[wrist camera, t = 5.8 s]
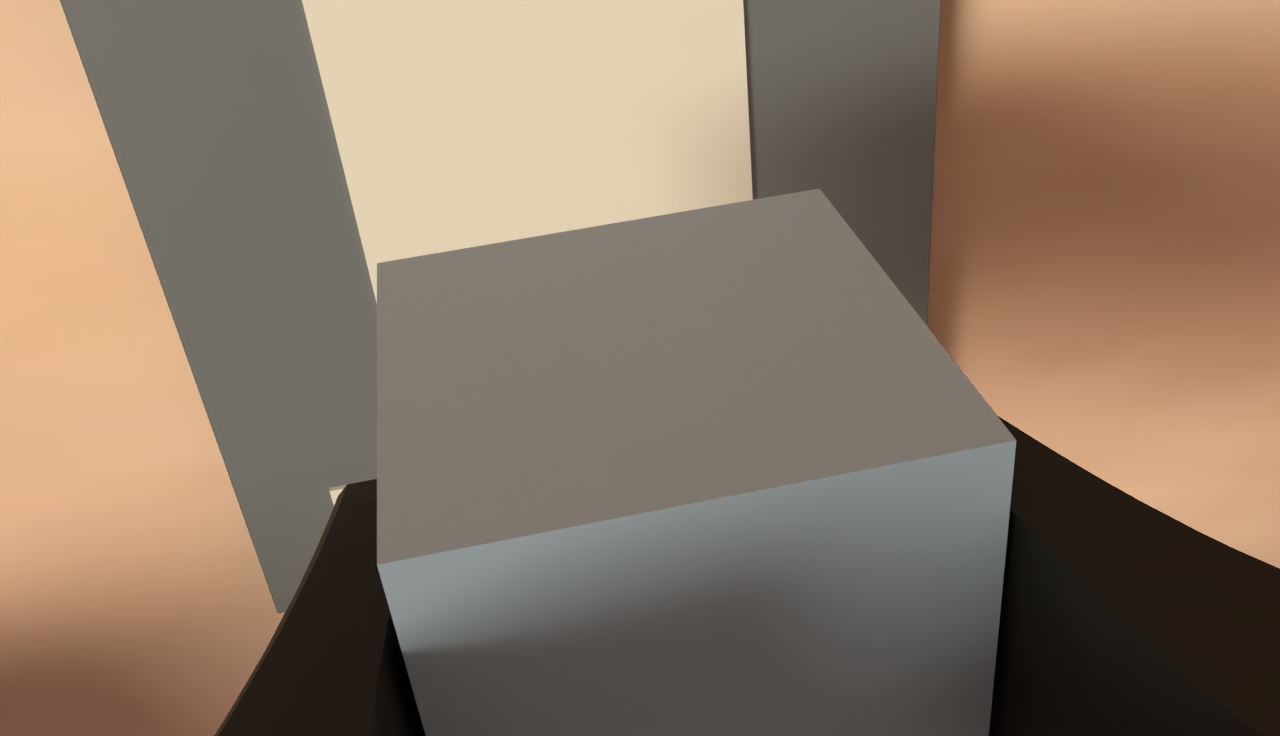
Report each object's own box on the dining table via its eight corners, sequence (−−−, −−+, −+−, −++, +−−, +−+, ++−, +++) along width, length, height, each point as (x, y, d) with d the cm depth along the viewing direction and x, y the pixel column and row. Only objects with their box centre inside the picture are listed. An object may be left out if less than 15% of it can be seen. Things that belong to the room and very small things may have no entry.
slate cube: (458, 598, 14) (486, 952, 10) (377, 262, 12) (377, 564, 8) (825, 526, 15) (979, 838, 11) (818, 189, 12) (1015, 440, 8)
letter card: (280, 583, 22) (277, 617, 21) (-17, -275, 14) (-39, -269, 14) (905, 461, 23) (922, 489, 23) (931, -388, 16) (959, -388, 15)
